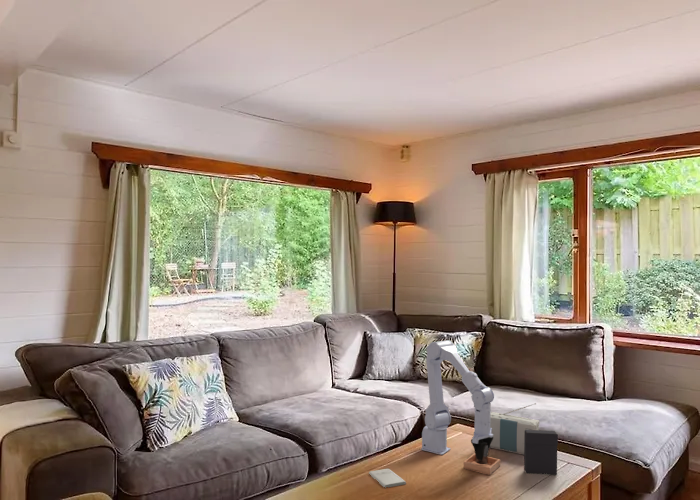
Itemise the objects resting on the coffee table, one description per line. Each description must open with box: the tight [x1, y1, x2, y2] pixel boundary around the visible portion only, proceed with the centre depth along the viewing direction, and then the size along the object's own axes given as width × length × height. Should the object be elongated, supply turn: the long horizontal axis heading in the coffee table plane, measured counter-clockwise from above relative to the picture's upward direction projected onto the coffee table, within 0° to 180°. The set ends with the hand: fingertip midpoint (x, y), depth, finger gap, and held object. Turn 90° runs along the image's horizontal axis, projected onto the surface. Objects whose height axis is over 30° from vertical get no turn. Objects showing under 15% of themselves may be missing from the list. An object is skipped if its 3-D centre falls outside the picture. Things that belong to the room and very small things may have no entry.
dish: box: [463, 453, 501, 476], centre depth 203 cm, size 10×10×2 cm
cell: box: [476, 444, 489, 464], centre depth 203 cm, size 4×4×7 cm
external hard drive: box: [368, 468, 407, 489], centre depth 192 cm, size 2×8×12 cm
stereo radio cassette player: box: [490, 402, 540, 456], centre depth 221 cm, size 21×8×20 cm, turn 55°
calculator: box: [523, 429, 559, 476], centre depth 199 cm, size 11×4×15 cm, turn 84°
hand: (482, 457), depth 203 cm, fingers closed on cell, 4 cm apart
